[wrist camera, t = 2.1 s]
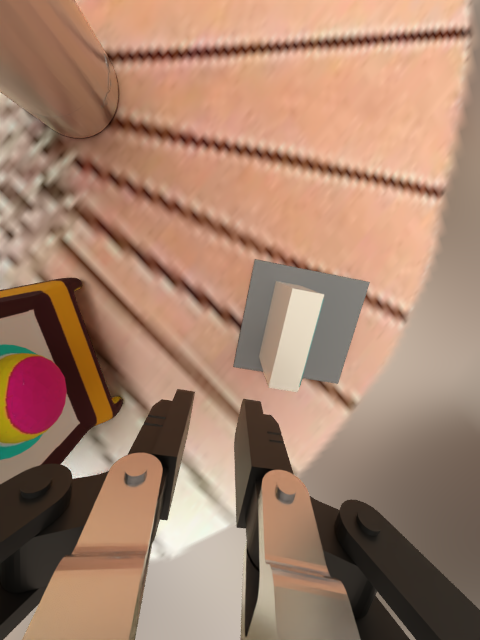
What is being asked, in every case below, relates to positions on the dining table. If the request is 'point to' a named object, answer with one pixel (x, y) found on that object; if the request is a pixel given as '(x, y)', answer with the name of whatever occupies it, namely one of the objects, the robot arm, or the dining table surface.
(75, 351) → the decorative lantern
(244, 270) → the dining table surface
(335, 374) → the mat
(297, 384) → the block
